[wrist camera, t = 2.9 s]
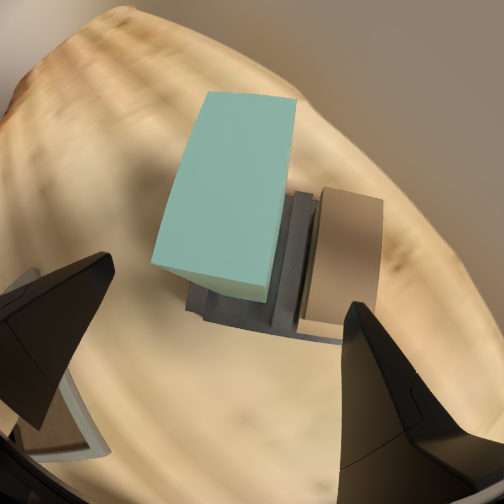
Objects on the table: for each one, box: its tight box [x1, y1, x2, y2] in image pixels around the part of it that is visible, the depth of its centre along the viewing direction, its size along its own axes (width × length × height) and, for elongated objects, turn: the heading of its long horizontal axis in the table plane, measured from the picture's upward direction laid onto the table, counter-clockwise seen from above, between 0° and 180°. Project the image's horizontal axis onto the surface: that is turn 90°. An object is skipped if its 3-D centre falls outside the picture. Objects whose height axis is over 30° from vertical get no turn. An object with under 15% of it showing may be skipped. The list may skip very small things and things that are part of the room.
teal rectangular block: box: [151, 92, 297, 304], centre depth 13 cm, size 6×3×12 cm, turn 169°
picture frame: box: [0, 268, 111, 463], centre depth 18 cm, size 19×2×30 cm
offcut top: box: [302, 187, 383, 325], centre depth 16 cm, size 8×4×1 cm, turn 169°
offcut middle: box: [295, 206, 343, 339], centre depth 17 cm, size 8×4×1 cm, turn 169°
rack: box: [185, 191, 343, 345], centre depth 18 cm, size 10×11×3 cm
